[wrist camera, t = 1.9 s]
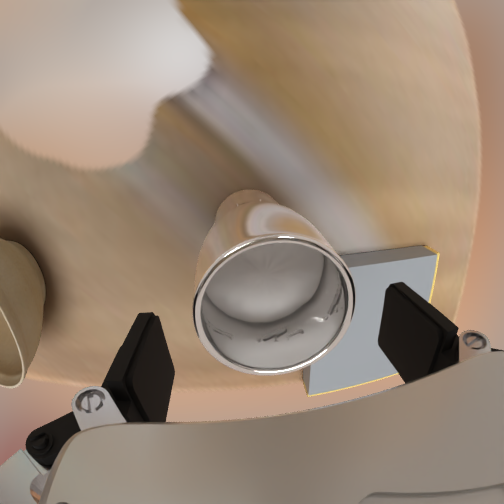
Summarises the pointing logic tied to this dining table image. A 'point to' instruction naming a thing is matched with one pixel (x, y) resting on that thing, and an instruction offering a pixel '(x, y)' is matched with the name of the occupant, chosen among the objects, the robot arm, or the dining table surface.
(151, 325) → the robot arm
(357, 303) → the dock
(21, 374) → the planter bowl
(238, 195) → the beer glass
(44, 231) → the dining table surface
